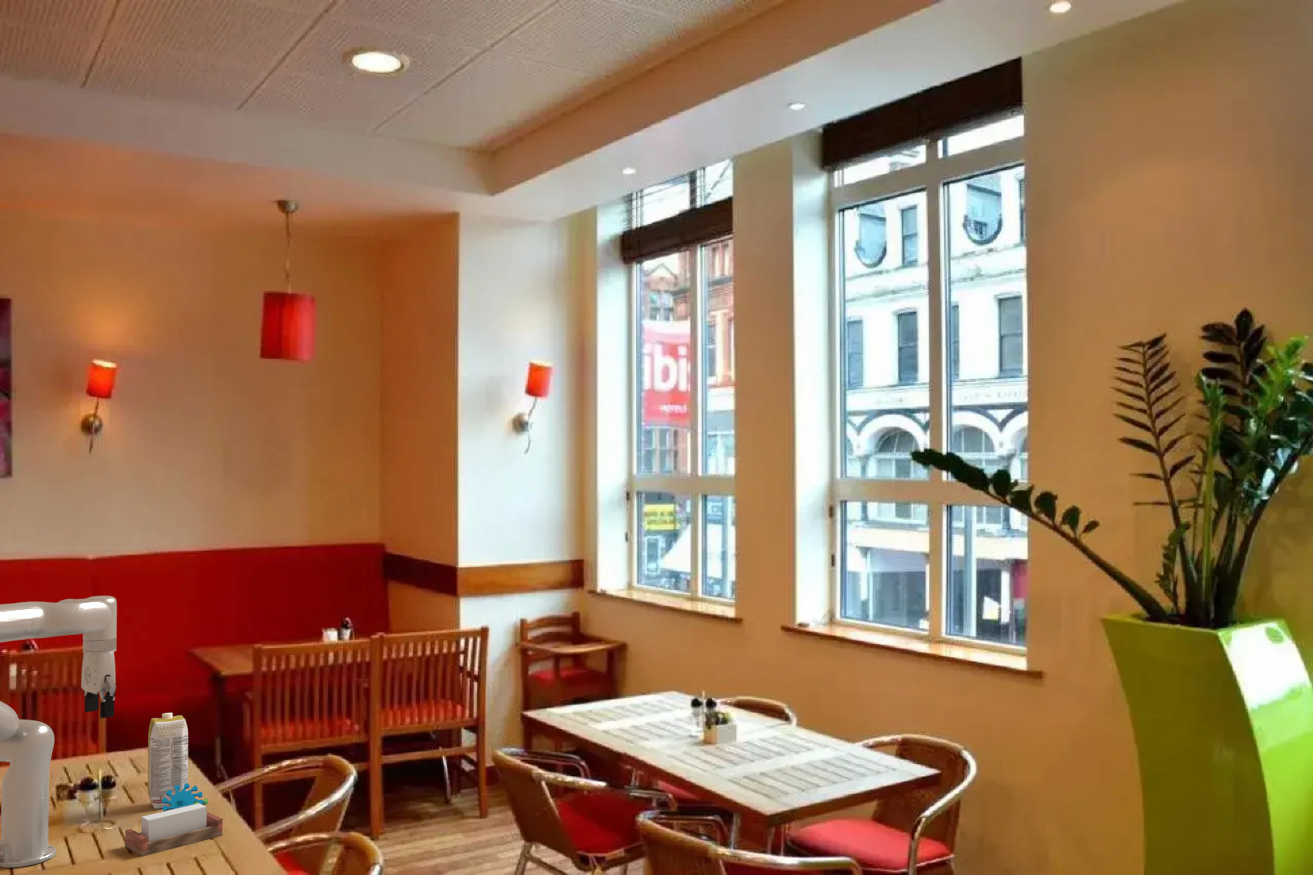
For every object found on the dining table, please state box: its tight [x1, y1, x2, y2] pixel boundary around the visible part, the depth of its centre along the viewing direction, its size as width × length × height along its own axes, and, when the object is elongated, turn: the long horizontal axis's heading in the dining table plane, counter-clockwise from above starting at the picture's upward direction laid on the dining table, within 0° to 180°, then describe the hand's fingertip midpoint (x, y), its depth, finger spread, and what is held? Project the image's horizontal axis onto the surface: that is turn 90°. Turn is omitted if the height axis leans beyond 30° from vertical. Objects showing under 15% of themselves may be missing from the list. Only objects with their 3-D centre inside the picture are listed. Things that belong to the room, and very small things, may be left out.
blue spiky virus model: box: [162, 783, 209, 812], centre depth 287 cm, size 11×6×10 cm
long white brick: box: [140, 803, 208, 842], centre depth 267 cm, size 14×4×6 cm, turn 138°
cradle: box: [124, 811, 224, 857], centre depth 267 cm, size 19×9×4 cm, turn 138°
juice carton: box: [147, 712, 189, 810], centre depth 295 cm, size 9×8×24 cm
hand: (99, 714), depth 277 cm, fingers open, 9 cm apart
